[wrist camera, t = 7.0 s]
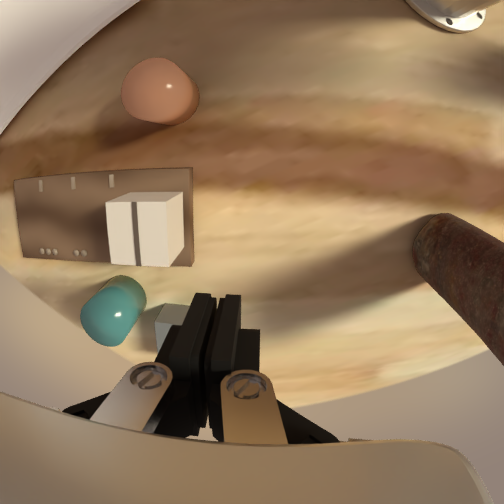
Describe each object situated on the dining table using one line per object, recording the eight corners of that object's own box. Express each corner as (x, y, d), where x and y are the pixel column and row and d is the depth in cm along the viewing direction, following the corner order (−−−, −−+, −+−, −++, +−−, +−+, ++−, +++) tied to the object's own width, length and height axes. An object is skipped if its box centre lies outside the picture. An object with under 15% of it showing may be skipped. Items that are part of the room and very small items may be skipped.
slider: (130, 192, 27) (104, 202, 22) (182, 191, 27) (165, 201, 22) (133, 245, 28) (110, 264, 24) (184, 247, 28) (168, 267, 24)
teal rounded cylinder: (102, 274, 32) (75, 298, 26) (143, 276, 31) (121, 303, 26) (109, 314, 33) (86, 342, 28) (149, 318, 33) (130, 349, 27)
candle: (427, 291, 31) (532, 414, 12) (393, 246, 30) (519, 368, 11) (472, 245, 29) (598, 334, 10) (443, 196, 28) (596, 266, 9)
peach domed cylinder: (148, 76, 25) (123, 62, 19) (200, 72, 25) (185, 54, 19) (146, 126, 27) (119, 122, 21) (198, 124, 27) (182, 118, 21)
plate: (153, 2, 23) (146, -6, 21) (-6, 155, 28) (-17, 157, 26) (78, -87, 16) (72, -93, 14) (-44, 37, 21) (-53, 36, 19)
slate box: (165, 302, 32) (154, 322, 29) (211, 307, 32) (205, 327, 29) (168, 341, 34) (158, 362, 30) (211, 346, 34) (206, 368, 30)
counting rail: (21, 178, 28) (12, 180, 27) (192, 167, 28) (188, 168, 26) (30, 253, 31) (22, 257, 30) (194, 261, 31) (190, 267, 29)
